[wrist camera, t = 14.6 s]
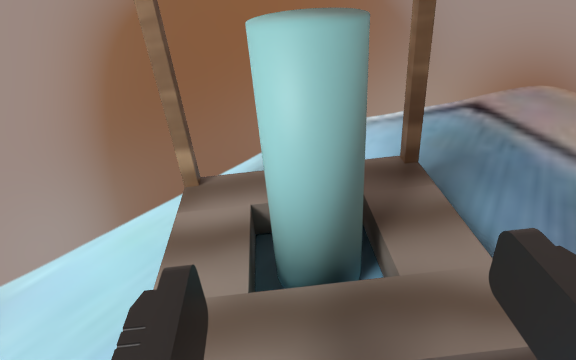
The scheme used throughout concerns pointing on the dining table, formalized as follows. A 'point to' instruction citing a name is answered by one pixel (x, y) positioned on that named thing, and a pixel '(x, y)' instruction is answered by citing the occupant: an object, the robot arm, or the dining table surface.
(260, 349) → the tan frame
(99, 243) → the dining table surface
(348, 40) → the peg
